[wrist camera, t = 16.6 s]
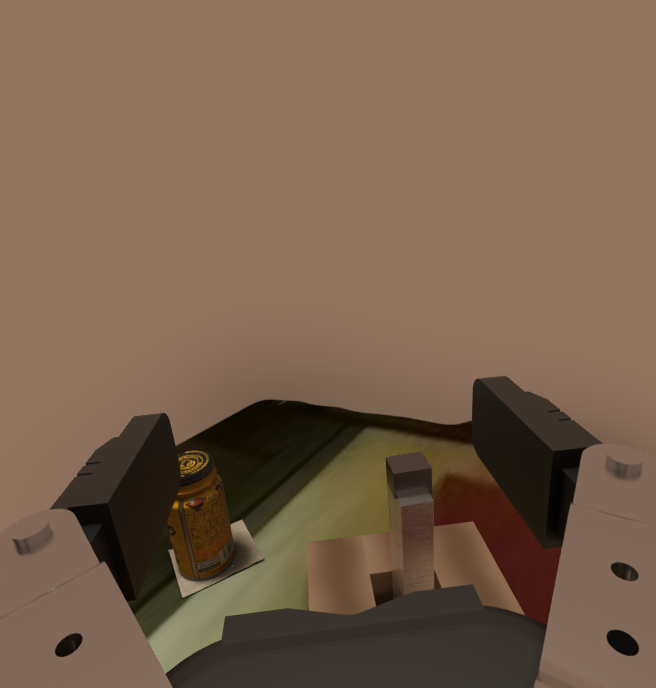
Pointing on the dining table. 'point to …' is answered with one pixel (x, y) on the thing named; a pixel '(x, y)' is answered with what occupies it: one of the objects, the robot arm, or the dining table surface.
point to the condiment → (205, 528)
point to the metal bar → (410, 523)
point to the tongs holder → (376, 572)
